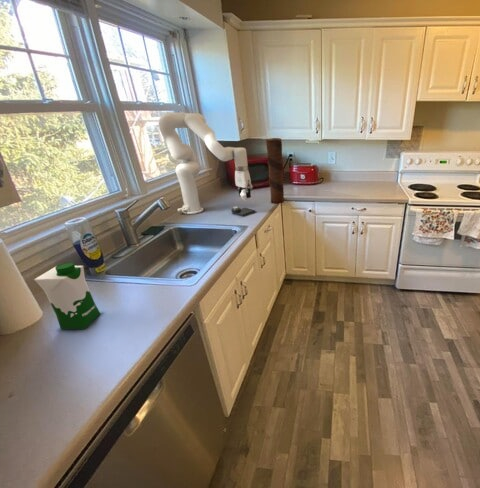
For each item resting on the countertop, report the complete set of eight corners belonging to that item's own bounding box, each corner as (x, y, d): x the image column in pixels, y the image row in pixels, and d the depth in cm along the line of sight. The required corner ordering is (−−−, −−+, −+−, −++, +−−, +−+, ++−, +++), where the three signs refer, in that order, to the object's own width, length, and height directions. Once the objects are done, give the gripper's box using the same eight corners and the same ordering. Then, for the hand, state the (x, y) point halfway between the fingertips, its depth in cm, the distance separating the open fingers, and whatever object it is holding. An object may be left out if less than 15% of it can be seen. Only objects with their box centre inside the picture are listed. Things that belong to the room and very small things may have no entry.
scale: (241, 217, 178) (241, 212, 177) (230, 213, 184) (229, 209, 182) (255, 212, 187) (255, 207, 186) (244, 209, 193) (243, 204, 191)
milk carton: (86, 330, 84) (60, 273, 76) (54, 331, 83) (25, 274, 75) (105, 312, 92) (84, 258, 83) (76, 312, 91) (52, 258, 83)
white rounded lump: (241, 198, 185) (240, 187, 182) (250, 198, 185) (249, 187, 182) (239, 201, 179) (238, 190, 176) (249, 200, 180) (248, 190, 177)
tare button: (235, 210, 181) (235, 208, 181) (232, 209, 183) (232, 207, 182) (239, 209, 184) (238, 207, 183) (236, 208, 185) (235, 206, 184)
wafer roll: (281, 204, 204) (277, 139, 185) (268, 203, 207) (263, 138, 188) (287, 200, 213) (284, 137, 194) (274, 199, 216) (270, 137, 197)
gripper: (227, 168, 175) (231, 196, 183) (246, 171, 167) (249, 200, 174) (237, 166, 181) (240, 193, 189) (256, 169, 172) (258, 197, 180)
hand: (245, 196), depth 181 cm, fingers closed on white rounded lump, 6 cm apart
